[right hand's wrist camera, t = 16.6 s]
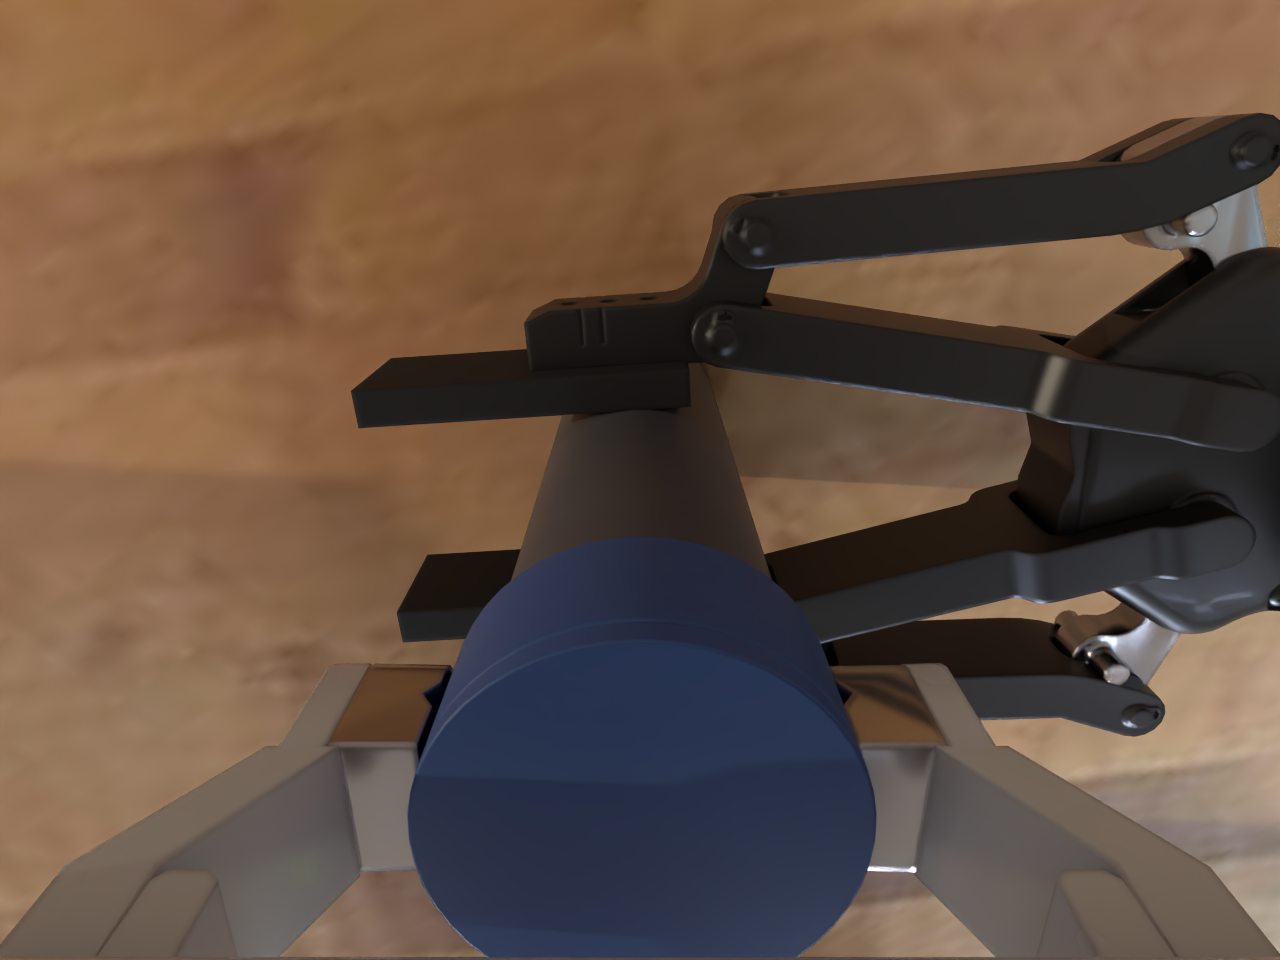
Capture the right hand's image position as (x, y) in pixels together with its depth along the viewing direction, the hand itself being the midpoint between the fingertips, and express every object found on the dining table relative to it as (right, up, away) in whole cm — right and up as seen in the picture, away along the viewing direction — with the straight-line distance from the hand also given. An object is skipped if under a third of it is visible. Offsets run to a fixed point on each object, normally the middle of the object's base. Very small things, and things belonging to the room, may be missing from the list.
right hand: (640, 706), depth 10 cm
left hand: (-5, +3, +7) cm, 9 cm away
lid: (0, -1, -2) cm, 2 cm away
